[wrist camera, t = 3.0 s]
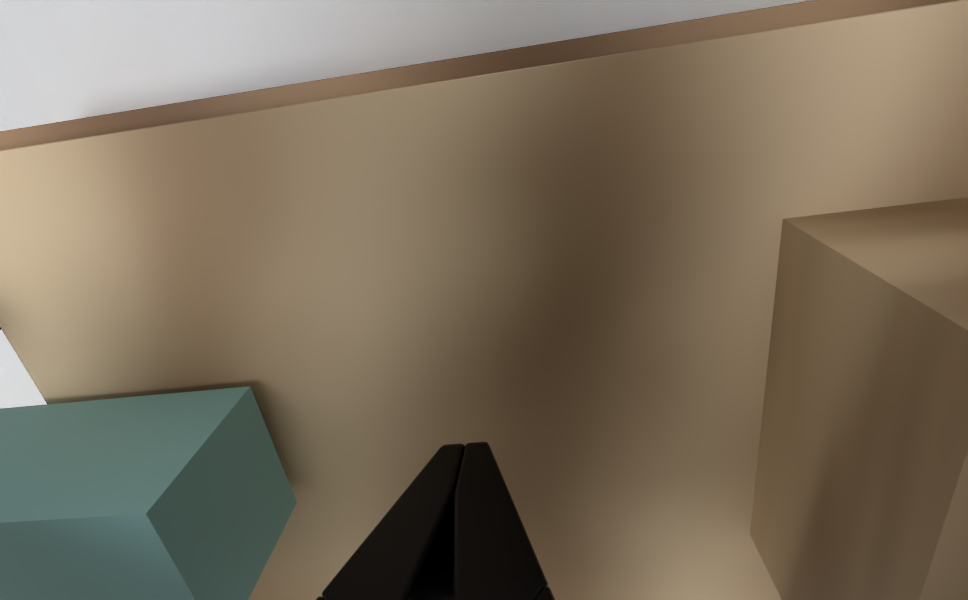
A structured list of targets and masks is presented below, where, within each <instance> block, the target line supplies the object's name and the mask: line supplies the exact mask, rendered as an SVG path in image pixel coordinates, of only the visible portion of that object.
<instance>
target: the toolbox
mask: <svg viewBox="0 0 968 600" xmlns="http://www.w3.org/2000/svg"><path fill="white" fill-rule="evenodd" d="M951 1H958V0H812V1H806V2H800V3H794V4H788V5H781V6H775V7H769V8H763V9H757V10H750V11H744V12H738V13H732V14H726V15H719V16H713V17H707V18H701V19H695V20H688V21H682V22H676V23H670V24H664V25H657V26H651V27H645V28H639V29H633V30H626V31H620V32H614V33H608V34H602V35H595V36H589V37H583V38H577V39H571V40H564V41H558V42H552V43H546V44H540V45H533V46H527V47H521V48H515V49H509V50H503V51H496V52H490V53H484V54H478V55H472V56H465V57H459V58H453V59H447V60H441V61H434V62H428V63H422V64H416V65H410V66H403V67H397V68H391V69H385V70H379V71H372V72H366V73H360V74H354V75H348V76H341V77H335V78H329V79H323V80H317V81H310V82H304V83H298V84H292V85H286V86H279V87H273V88H267V89H261V90H255V91H248V92H242V93H236V94H230V95H224V96H217V97H211V98H205V99H199V100H193V101H187V102H180V103H174V104H168V105H162V106H156V107H149V108H143V109H137V110H131V111H125V112H118V113H112V114H106V115H100V116H94V117H87V118H81V119H75V120H69V121H63V122H56V123H50V124H44V125H38V126H32V127H25V128H19V129H13V130H7V131H1V132H0V150H6V149H12V148H19V147H25V146H31V145H38V144H44V143H51V142H57V141H63V140H70V139H76V138H83V137H89V136H95V135H102V134H108V133H114V132H121V131H127V130H134V129H140V128H146V127H153V126H159V125H166V124H172V123H178V122H185V121H191V120H198V119H204V118H210V117H217V116H223V115H229V114H236V113H242V112H249V111H255V110H261V109H268V108H274V107H281V106H287V105H293V104H300V103H306V102H312V101H319V100H325V99H332V98H338V97H344V96H351V95H357V94H364V93H370V92H376V91H383V90H389V89H396V88H402V87H408V86H415V85H421V84H427V83H434V82H440V81H447V80H453V79H459V78H466V77H472V76H479V75H485V74H491V73H498V72H504V71H511V70H517V69H523V68H530V67H536V66H542V65H549V64H555V63H562V62H568V61H574V60H581V59H587V58H594V57H600V56H606V55H613V54H619V53H625V52H632V51H638V50H645V49H651V48H657V47H664V46H670V45H677V44H683V43H689V42H696V41H702V40H709V39H715V38H721V37H728V36H734V35H740V34H747V33H753V32H760V31H766V30H772V29H779V28H785V27H792V26H798V25H804V24H811V23H817V22H823V21H830V20H836V19H843V18H849V17H855V16H862V15H868V14H875V13H881V12H887V11H894V10H900V9H907V8H913V7H919V6H926V5H932V4H938V3H945V2H951ZM0 330H1V327H0Z"/></svg>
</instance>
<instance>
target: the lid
mask: <svg viewBox="0 0 968 600" xmlns="http://www.w3.org/2000/svg"><path fill="white" fill-rule="evenodd" d="M0 327H1V329H2V331H3V332H4V334H5V336H6V337H7V339H8V341H9V342H10V344H11V345H12V347H13V349H14V350H15V352H16V354H17V355H18V357H19V359H20V360H21V362H22V363H23V365H24V367H25V368H26V370H27V372H28V373H29V375H30V376H31V378H32V380H33V381H34V383H35V385H36V386H37V388H38V390H39V391H40V393H41V394H42V396H43V398H44V399H45V401H46V403H47V404H59V403H70V402H82V401H93V400H104V399H115V398H126V397H137V396H148V395H159V394H170V393H182V392H193V391H204V390H215V389H226V388H237V387H248V386H250V387H251V390H252V392H253V395H254V397H255V400H256V402H257V404H258V407H259V409H260V412H261V414H262V417H263V419H264V422H265V424H266V427H267V429H268V432H269V434H270V437H271V439H272V442H273V444H274V447H275V449H276V452H277V454H278V457H279V459H280V462H281V464H282V467H283V469H284V472H285V474H286V477H287V479H288V482H289V484H290V487H291V489H292V491H293V494H294V496H295V499H296V501H297V503H296V505H295V507H294V509H293V511H292V513H291V515H290V517H289V519H288V521H287V523H286V525H285V527H284V529H283V531H282V533H281V535H280V537H279V539H278V541H277V543H276V545H275V547H274V549H273V551H272V553H271V555H270V557H269V559H268V561H267V563H266V565H265V567H264V570H263V572H262V574H261V576H260V578H259V580H258V582H257V584H256V586H255V588H254V590H253V592H252V594H251V596H250V598H249V600H316V599H317V598H318V597H319V596H321V597H322V592H323V590H324V589H325V588H326V587H327V586H328V584H329V583H330V582H331V581H332V579H333V578H334V577H335V576H336V574H337V573H338V572H339V571H340V570H341V568H342V567H343V566H344V565H345V563H346V562H347V561H348V560H349V559H350V557H351V556H352V555H353V554H354V552H355V551H356V550H357V549H358V548H359V546H360V545H361V544H362V543H363V541H364V540H365V539H366V538H367V536H368V535H369V534H370V533H371V532H372V530H373V529H374V528H375V527H376V525H377V524H378V523H379V522H380V521H381V519H382V518H383V517H384V516H385V514H386V513H387V512H388V511H389V509H390V508H391V507H392V506H393V505H394V503H395V502H396V501H397V500H398V498H399V497H400V496H401V495H402V494H403V492H404V491H405V490H406V489H407V487H408V486H409V485H410V484H411V482H412V481H413V480H414V479H415V478H416V476H417V475H418V474H419V473H420V471H421V470H422V469H423V468H424V467H425V465H426V464H427V463H428V462H429V460H430V459H431V458H432V457H433V456H434V454H435V453H436V452H437V451H438V449H439V448H440V447H441V446H443V445H446V444H459V443H462V444H464V445H466V444H467V443H472V442H487V443H488V444H489V445H490V448H491V450H492V453H493V455H494V457H495V460H496V462H497V464H498V467H499V469H500V471H501V474H502V476H503V478H504V481H505V483H506V486H507V488H508V490H509V493H510V495H511V497H512V500H513V502H514V504H515V507H516V509H517V511H518V514H519V516H520V519H521V521H522V523H523V526H524V528H525V530H526V533H527V535H528V537H529V540H530V542H531V544H532V547H533V549H534V552H535V554H536V556H537V559H538V561H539V563H540V566H541V568H542V570H543V573H544V575H545V578H546V580H547V582H548V586H549V588H550V589H551V591H552V593H553V596H554V598H555V600H968V0H958V1H951V2H945V3H938V4H932V5H926V6H919V7H913V8H907V9H900V10H894V11H887V12H881V13H875V14H868V15H862V16H855V17H849V18H843V19H836V20H830V21H823V22H817V23H811V24H804V25H798V26H792V27H785V28H779V29H772V30H766V31H760V32H753V33H747V34H740V35H734V36H728V37H721V38H715V39H709V40H702V41H696V42H689V43H683V44H677V45H670V46H664V47H657V48H651V49H645V50H638V51H632V52H625V53H619V54H613V55H606V56H600V57H594V58H587V59H581V60H574V61H568V62H562V63H555V64H549V65H542V66H536V67H530V68H523V69H517V70H511V71H504V72H498V73H491V74H485V75H479V76H472V77H466V78H459V79H453V80H447V81H440V82H434V83H427V84H421V85H415V86H408V87H402V88H396V89H389V90H383V91H376V92H370V93H364V94H357V95H351V96H344V97H338V98H332V99H325V100H319V101H312V102H306V103H300V104H293V105H287V106H281V107H274V108H268V109H261V110H255V111H249V112H242V113H236V114H229V115H223V116H217V117H210V118H204V119H198V120H191V121H185V122H178V123H172V124H166V125H159V126H153V127H146V128H140V129H134V130H127V131H121V132H114V133H108V134H102V135H95V136H89V137H83V138H76V139H70V140H63V141H57V142H51V143H44V144H38V145H31V146H25V147H19V148H12V149H6V150H0ZM322 598H323V597H322Z"/></svg>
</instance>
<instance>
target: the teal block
mask: <svg viewBox="0 0 968 600" xmlns="http://www.w3.org/2000/svg"><path fill="white" fill-rule="evenodd" d="M296 503H297V501H296V499H295V496H294V494H293V491H292V489H291V487H290V484H289V482H288V479H287V477H286V474H285V472H284V469H283V467H282V464H281V462H280V459H279V457H278V454H277V452H276V449H275V447H274V444H273V442H272V439H271V437H270V434H269V432H268V429H267V427H266V424H265V422H264V419H263V417H262V414H261V412H260V409H259V407H258V404H257V402H256V400H255V397H254V395H253V392H252V390H251V387H250V386H248V387H237V388H226V389H215V390H204V391H193V392H182V393H170V394H159V395H148V396H137V397H126V398H115V399H104V400H93V401H82V402H70V403H59V404H48V405H37V406H26V407H15V408H4V409H0V600H249V598H250V596H251V594H252V592H253V590H254V588H255V586H256V584H257V582H258V580H259V578H260V576H261V574H262V572H263V570H264V567H265V565H266V563H267V561H268V559H269V557H270V555H271V553H272V551H273V549H274V547H275V545H276V543H277V541H278V539H279V537H280V535H281V533H282V531H283V529H284V527H285V525H286V523H287V521H288V519H289V517H290V515H291V513H292V511H293V509H294V507H295V505H296Z"/></svg>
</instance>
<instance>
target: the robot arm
mask: <svg viewBox="0 0 968 600" xmlns="http://www.w3.org/2000/svg"><path fill="white" fill-rule="evenodd" d="M322 597H323V598H322ZM322 597H321V596H319V597H318V598H317V599H316V600H555V598H554V596H553V593H552V591H551V589H550V588H549V586H548V582H547V580H546V578H545V575H544V573H543V570H542V568H541V566H540V563H539V561H538V559H537V556H536V554H535V552H534V549H533V547H532V544H531V542H530V540H529V537H528V535H527V533H526V530H525V528H524V526H523V523H522V521H521V519H520V516H519V514H518V511H517V509H516V507H515V504H514V502H513V500H512V497H511V495H510V493H509V490H508V488H507V486H506V483H505V481H504V478H503V476H502V474H501V471H500V469H499V467H498V464H497V462H496V460H495V457H494V455H493V453H492V450H491V448H490V445H489V444H488V443H487V442H472V443H467V444H466V445H464V444H462V443H459V444H446V445H443V446H441V447H440V448H439V449H438V451H437V452H436V453H435V454H434V456H433V457H432V458H431V459H430V460H429V462H428V463H427V464H426V465H425V467H424V468H423V469H422V470H421V471H420V473H419V474H418V475H417V476H416V478H415V479H414V480H413V481H412V482H411V484H410V485H409V486H408V487H407V489H406V490H405V491H404V492H403V494H402V495H401V496H400V497H399V498H398V500H397V501H396V502H395V503H394V505H393V506H392V507H391V508H390V509H389V511H388V512H387V513H386V514H385V516H384V517H383V518H382V519H381V521H380V522H379V523H378V524H377V525H376V527H375V528H374V529H373V530H372V532H371V533H370V534H369V535H368V536H367V538H366V539H365V540H364V541H363V543H362V544H361V545H360V546H359V548H358V549H357V550H356V551H355V552H354V554H353V555H352V556H351V557H350V559H349V560H348V561H347V562H346V563H345V565H344V566H343V567H342V568H341V570H340V571H339V572H338V573H337V574H336V576H335V577H334V578H333V579H332V581H331V582H330V583H329V584H328V586H327V587H326V588H325V589H324V590H323V592H322Z"/></svg>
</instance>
